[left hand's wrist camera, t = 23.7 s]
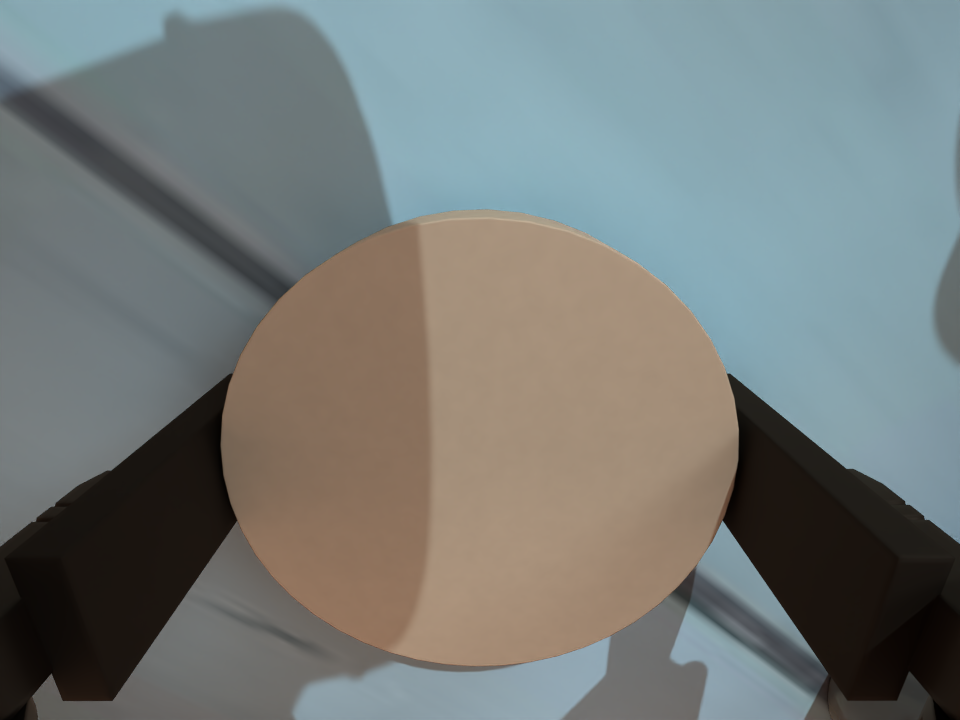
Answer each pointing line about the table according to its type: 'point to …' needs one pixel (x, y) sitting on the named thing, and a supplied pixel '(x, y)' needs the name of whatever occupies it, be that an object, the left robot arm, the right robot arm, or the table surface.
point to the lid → (479, 439)
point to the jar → (879, 704)
